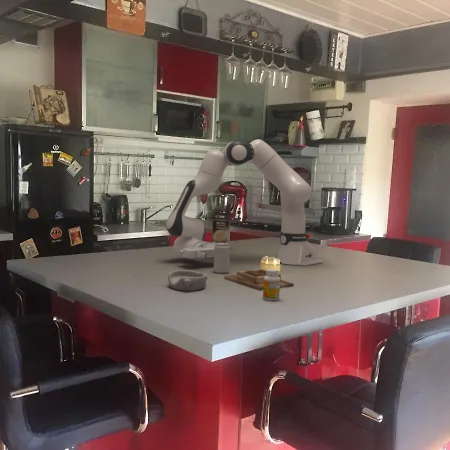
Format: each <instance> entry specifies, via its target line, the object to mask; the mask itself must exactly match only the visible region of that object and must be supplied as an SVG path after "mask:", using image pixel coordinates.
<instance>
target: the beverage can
mask: <svg viewBox="0 0 450 450" xmlns="http://www.w3.org/2000/svg"><path fill="white" fill-rule="evenodd" d="M215 244H216V245H215V246H214V257H213V271H214V272H215V273H216V274H228V272H230V261H231V260H230V259H231V258H230V256H231V255H230V254H231V253H230V251H231V247H230V243H229V244H228V243H215Z"/></svg>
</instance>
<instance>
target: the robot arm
mask: <svg viewBox="0 0 450 450" xmlns="http://www.w3.org/2000/svg"><path fill="white" fill-rule="evenodd" d="M247 162H250V163H252V164H253V165H254V166H255V167H256V168H257V170H259V171H260V173H261V174H262V175H264V177H265V178H266V179H267V180H268V181H269V182H270V183H271V184H272V185H274V187H276V188H277V189H278V190H279V193H280V207H281V231H280V232H279V242H280V243H279V248H278V252H277V253H278V254H277V258H279V259H280V261H281V263H280V264H283V265H292V266H293V265H296V266H303V267H306V266H311V265H316V264H320V263H323V260H322V259H320V258H319V257H318V250H317V249H316V247H315V246H314V245H312V244H311V243H310V242H309V241H308V239H311V238H312V234H311V233H307V234H306V220H307V219H306V218H307V216H306V212H305V205H304V204H305V203H306V202H307V201H309V200H310V198H311V196H312V190H313V189H312V188H311V187H312V186H310V184H309V183H308V182H307V181H306V180H305V179H304V178H303V177H301V175H299V174H298V173H297V172H296V171H295V170H294V169H293V168H292V167H291V166H289V165H288V163H286V161H285V160H284V159H283V157H281V156H280V155H279V154H278V153H277V152H276V151H275V149H273V148H272V147H271V146H270V145H269V144H268V143H266V142H265V141H264V140H263V139H261V138H260V139H259V138H258V139H255V140H252V141H251V142H245V141H242V140H234V141H230V142H228V144H226V145H225V146H224V147H222V149H220V150H217V149H210V150H207V152H206V153H205V154H204V157H203V158H202V161H201V163H200V165H199V168H198V172H197V174H196V176H195V177H194V178H193V179H191V180H190V181H188V182H187V183H186V184H185V186H184V188H183V190H182V192H181V194H180V196H179V198H178V199H177V202H176V204H175V206H174V209H173V210H172V212H171V214H170V215H169V216H168V217H167V220H166V223H165V229H166V230H167V233H168V234H169V235H170V236H172V237H177V238H176V239H175V240H174V242H173V248H174V250H175V251H176V253H178V255H181V256H182V257H183V258H186V259H191V260H194V261H202V260H205V259H207V258H214V246H215V245H216V244H215V242H212V241H204V239H205V238H206V234H207V233H206V232H207V227H206V225H205V222H204V220H202V219H200V218H199V219H198V218H194V217H190V216H186V215H185V214H186V212H187V210H188V208H189V206H190V204H191V202H192V201H193V199H194V198H195V197H197V196H200V195H208V194H209V195H210V194H212V193H214V192H215V191H217V190H218V189H219V186H220V185H221V182H222V178H223V176H224V172H225V170H226V169H227V167H229V166H230V167H231V166H234V167H239V166H241V165H244V164H246V163H247ZM277 258H276V259H277Z"/></svg>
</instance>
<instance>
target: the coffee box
mask: <svg viewBox="0 0 450 450" xmlns="http://www.w3.org/2000/svg"><path fill="white" fill-rule="evenodd" d="M230 232H231V220H230V219H218V218H214V219H212V233H211V234H212V235H211V242H215V243H228V244H229V245H230V238H231V233H230Z"/></svg>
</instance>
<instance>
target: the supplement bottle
mask: <svg viewBox="0 0 450 450" xmlns="http://www.w3.org/2000/svg"><path fill="white" fill-rule="evenodd" d="M265 270H266V274H267V275H266V276H265V277H264V284H263V290H262V298H263V300H266V301H270V300H275V301H279V300H280V290H281V288H280V277H278V276H277V275H278V274H279V269H276V268H267V269H265Z"/></svg>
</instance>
